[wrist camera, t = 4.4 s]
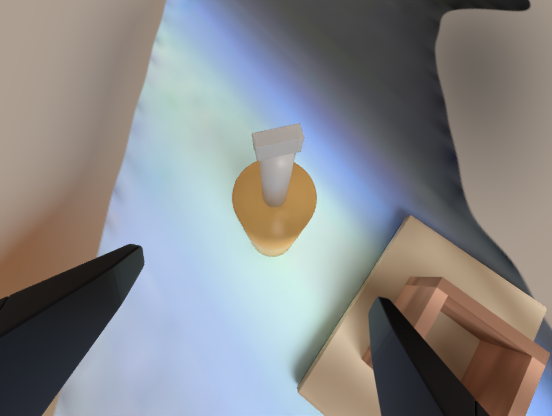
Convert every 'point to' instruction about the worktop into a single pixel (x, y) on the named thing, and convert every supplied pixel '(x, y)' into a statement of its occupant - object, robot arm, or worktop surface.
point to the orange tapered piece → (275, 192)
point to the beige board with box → (435, 328)
